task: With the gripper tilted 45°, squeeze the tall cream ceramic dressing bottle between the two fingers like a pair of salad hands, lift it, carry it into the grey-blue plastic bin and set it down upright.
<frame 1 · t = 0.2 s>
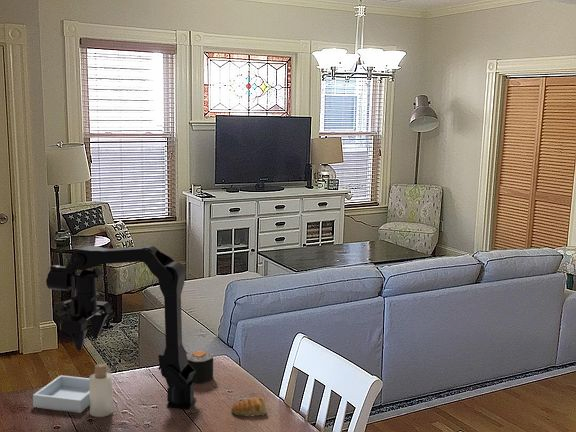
hand: (87, 344, 184), 15 cm above the table, tool pointing down, fingers open, 9 cm apart
dressing bottle: (101, 411, 175), on the table
bin: (70, 399, 182), on the table
sushi: (199, 378, 199), on the table
pastry: (251, 413, 178), on the table
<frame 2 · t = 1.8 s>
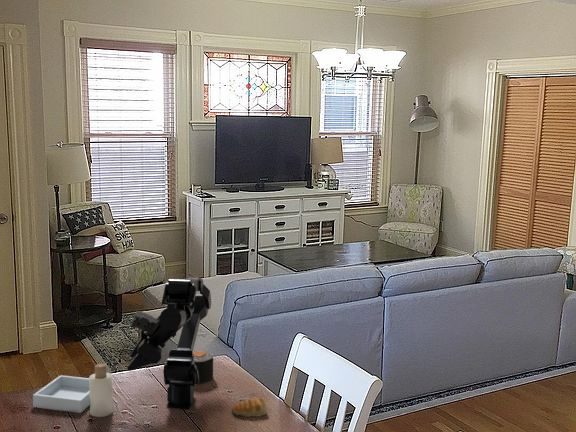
hand: (129, 362, 174), 14 cm above the table, tool tilted 45°, fingers open, 9 cm apart
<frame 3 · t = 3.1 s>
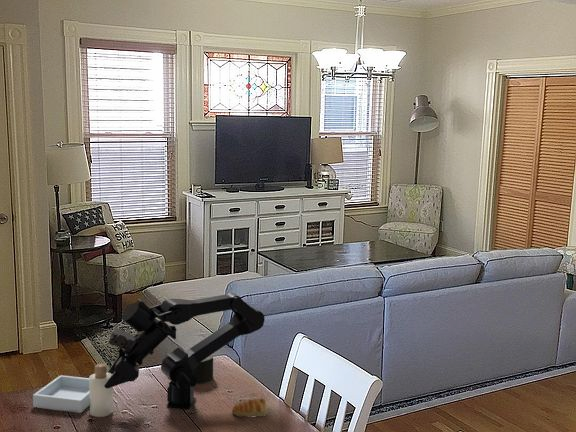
hand: (107, 380, 174), 9 cm above the table, tool tilted 45°, fingers open, 9 cm apart
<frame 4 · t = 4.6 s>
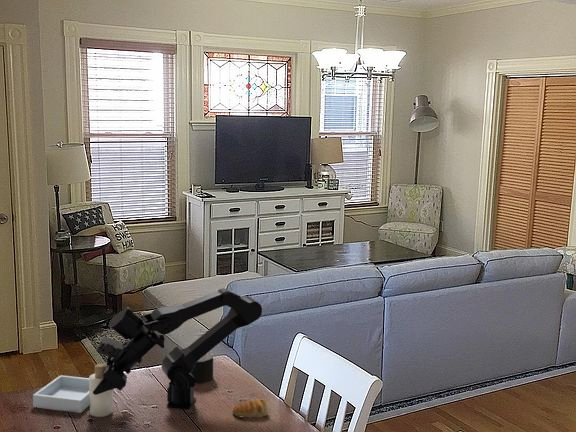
hand: (95, 388, 174), 7 cm above the table, tool tilted 45°, fingers closed on dressing bottle, 6 cm apart
dressing bottle: (101, 411, 175), on the table, touching gripper
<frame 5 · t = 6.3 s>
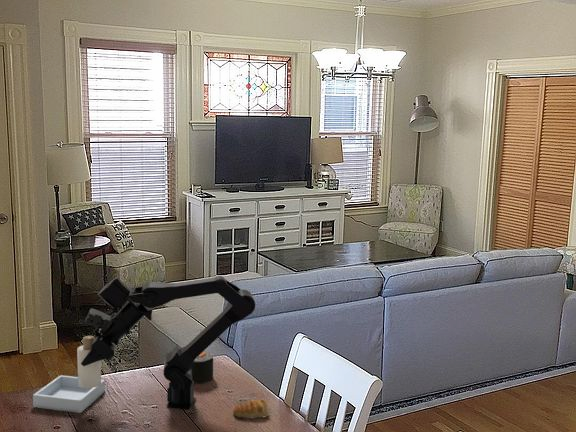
hand: (83, 360, 175), 14 cm above the table, tool tilted 45°, fingers closed on dressing bottle, 6 cm apart
dressing bottle: (89, 383, 176), point 7 cm above the table, touching gripper
when the fingers open (9 cm above the table, at t = 8.3 s): dressing bottle drops 2 cm, resting on bin.
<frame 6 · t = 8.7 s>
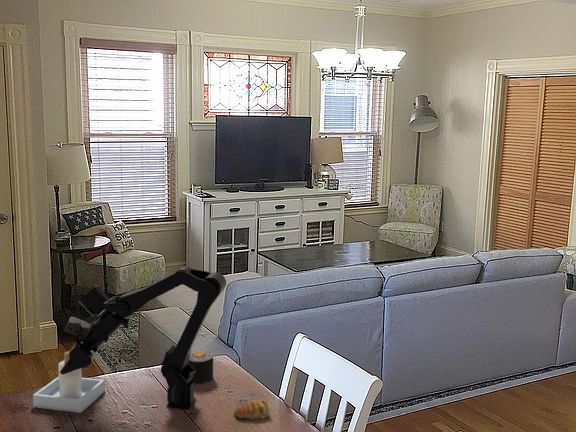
hand: (64, 366, 181), 10 cm above the table, tool tilted 45°, fingers open, 9 cm apart
dressing bottle: (70, 397, 182), point 1 cm above the table, touching bin
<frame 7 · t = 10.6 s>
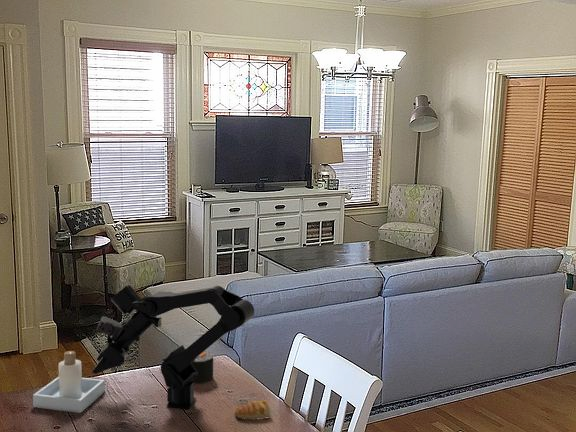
hand: (95, 366, 182), 9 cm above the table, tool tilted 45°, fingers open, 9 cm apart
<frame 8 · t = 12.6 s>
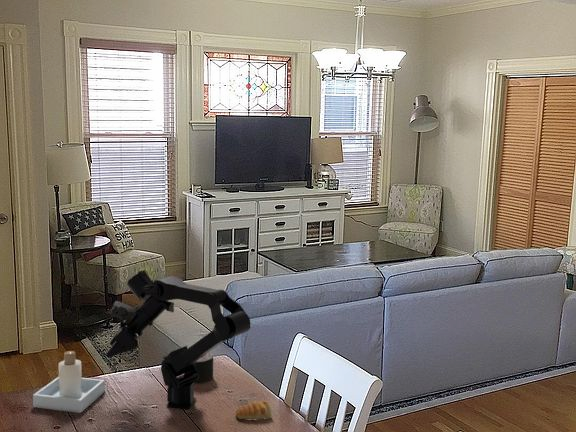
hand: (108, 350, 183), 14 cm above the table, tool tilted 45°, fingers open, 9 cm apart
at the end: dressing bottle inside the target area on the bin (0.2 cm from its centre), point 0.6 cm above the bin's base; dressing bottle tilted 0°; the gripper is holding nothing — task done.
